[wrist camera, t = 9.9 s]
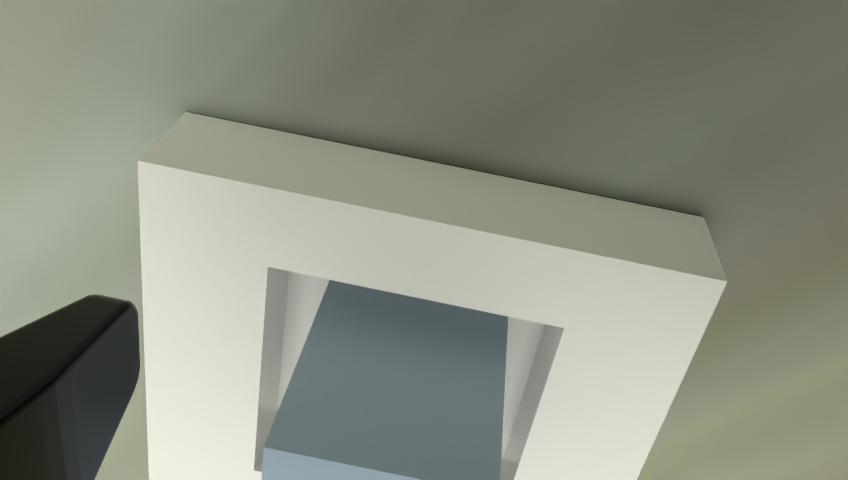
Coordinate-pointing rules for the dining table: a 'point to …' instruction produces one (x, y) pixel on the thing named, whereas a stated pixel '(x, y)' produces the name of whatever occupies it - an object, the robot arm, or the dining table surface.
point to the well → (406, 292)
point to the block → (392, 392)
